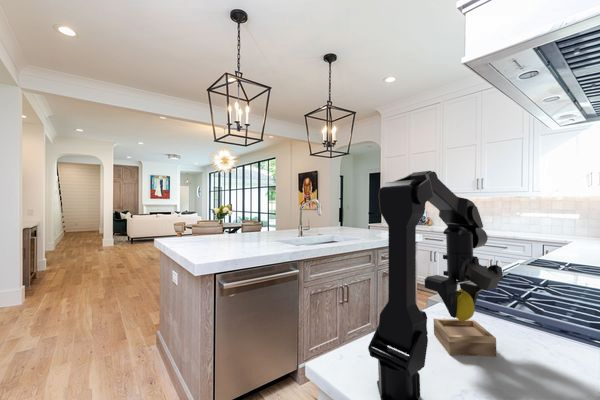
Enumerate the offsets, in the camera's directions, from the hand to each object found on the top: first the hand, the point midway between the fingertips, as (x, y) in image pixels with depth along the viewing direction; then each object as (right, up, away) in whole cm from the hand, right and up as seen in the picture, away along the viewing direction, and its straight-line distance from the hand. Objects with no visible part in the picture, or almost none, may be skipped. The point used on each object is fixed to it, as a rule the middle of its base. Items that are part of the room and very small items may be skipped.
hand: (461, 315), depth 69 cm
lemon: (0, -2, 0) cm, 2 cm away
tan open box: (0, -7, 0) cm, 7 cm away
